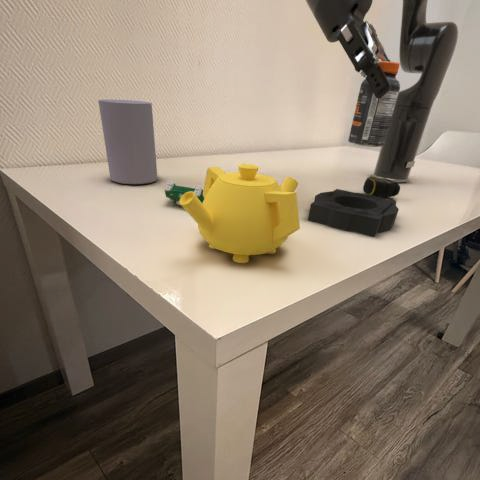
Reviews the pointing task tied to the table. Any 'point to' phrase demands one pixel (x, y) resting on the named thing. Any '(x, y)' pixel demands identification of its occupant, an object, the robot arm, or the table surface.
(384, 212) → the socket pad
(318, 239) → the table surface
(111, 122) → the container
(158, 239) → the table surface
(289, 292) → the table surface
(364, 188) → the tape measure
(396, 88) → the pill bottle
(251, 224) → the teapot
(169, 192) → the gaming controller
